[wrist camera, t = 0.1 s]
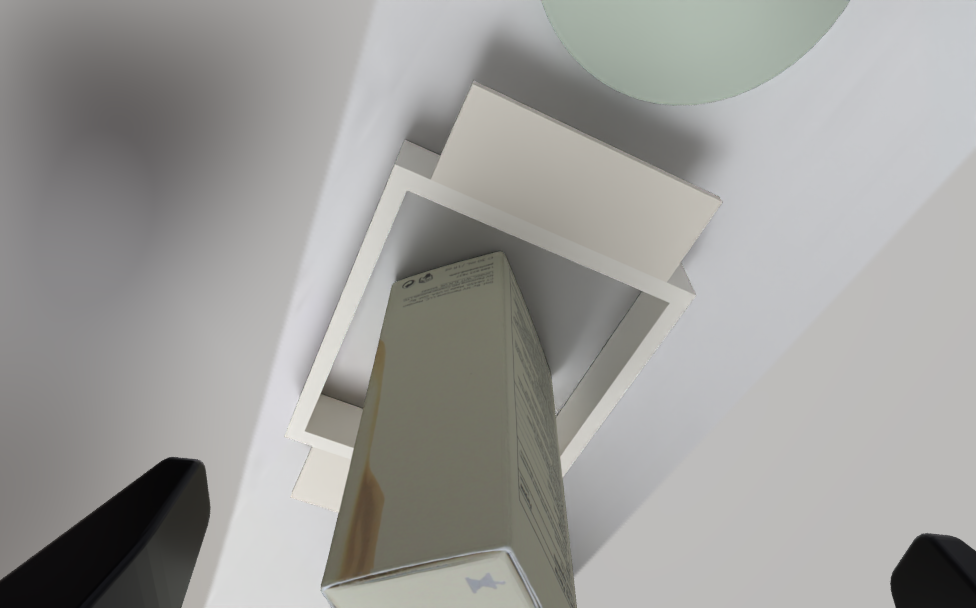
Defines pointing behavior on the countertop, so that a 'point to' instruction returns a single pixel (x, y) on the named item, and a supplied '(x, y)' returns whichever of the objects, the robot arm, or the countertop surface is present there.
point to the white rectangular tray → (542, 222)
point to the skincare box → (455, 456)
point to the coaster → (689, 43)
